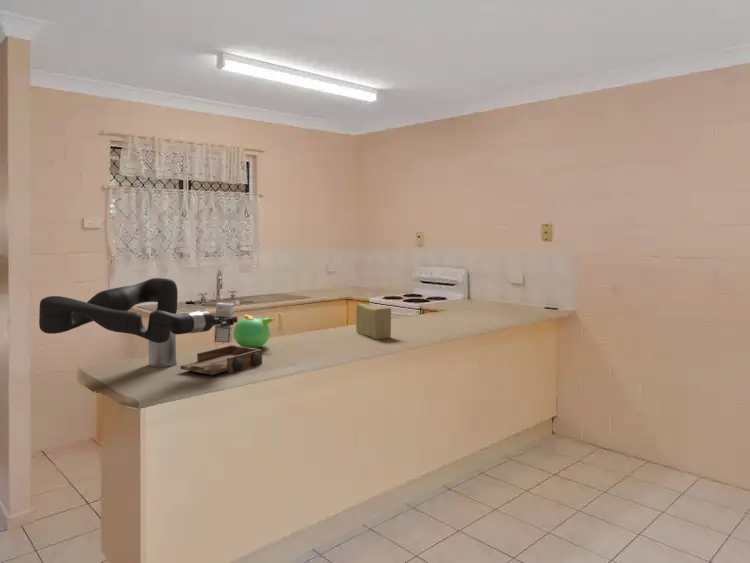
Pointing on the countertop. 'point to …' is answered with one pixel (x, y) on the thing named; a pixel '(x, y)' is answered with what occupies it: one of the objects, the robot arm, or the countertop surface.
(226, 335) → the syrup box
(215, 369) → the tailgate
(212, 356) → the cart
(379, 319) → the olive rectangular block
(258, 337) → the green ball creature
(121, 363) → the countertop surface
